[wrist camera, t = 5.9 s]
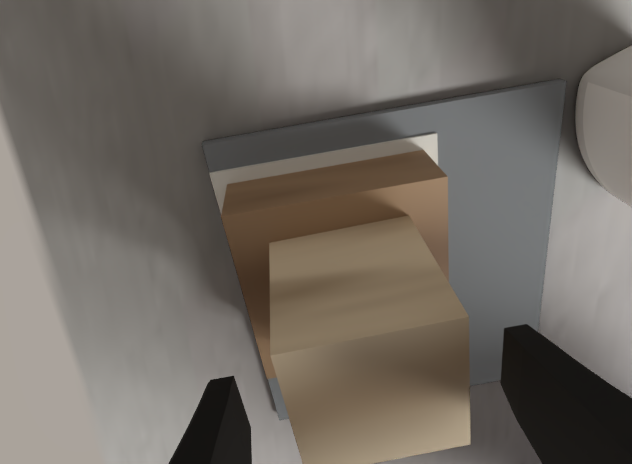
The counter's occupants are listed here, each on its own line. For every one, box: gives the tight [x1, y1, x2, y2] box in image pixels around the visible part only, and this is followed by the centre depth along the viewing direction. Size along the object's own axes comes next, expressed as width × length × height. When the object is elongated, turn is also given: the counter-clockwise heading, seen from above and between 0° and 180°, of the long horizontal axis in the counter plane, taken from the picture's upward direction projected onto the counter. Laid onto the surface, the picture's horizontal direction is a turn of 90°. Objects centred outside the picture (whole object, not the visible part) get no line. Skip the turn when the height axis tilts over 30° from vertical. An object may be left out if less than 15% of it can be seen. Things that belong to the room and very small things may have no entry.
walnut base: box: [221, 150, 449, 379], centre depth 17 cm, size 7×7×2 cm
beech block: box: [269, 215, 470, 464], centre depth 14 cm, size 4×4×5 cm
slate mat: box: [202, 79, 567, 420], centre depth 19 cm, size 14×12×1 cm
